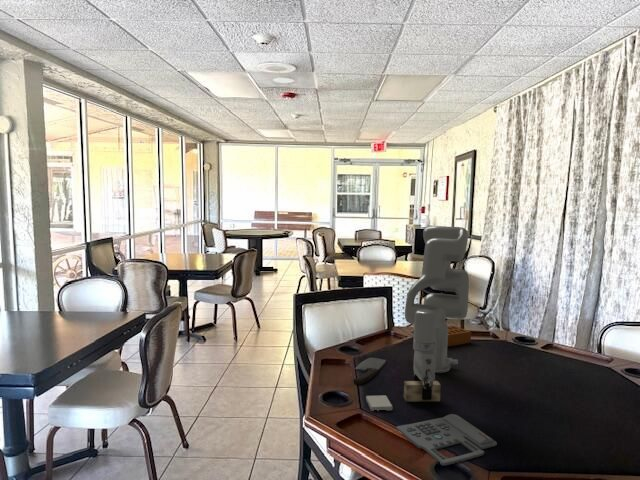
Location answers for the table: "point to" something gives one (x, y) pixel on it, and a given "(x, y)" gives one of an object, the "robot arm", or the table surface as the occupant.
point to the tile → (378, 403)
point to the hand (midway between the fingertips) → (422, 393)
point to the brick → (458, 336)
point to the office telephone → (447, 437)
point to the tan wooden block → (420, 391)
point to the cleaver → (369, 369)
